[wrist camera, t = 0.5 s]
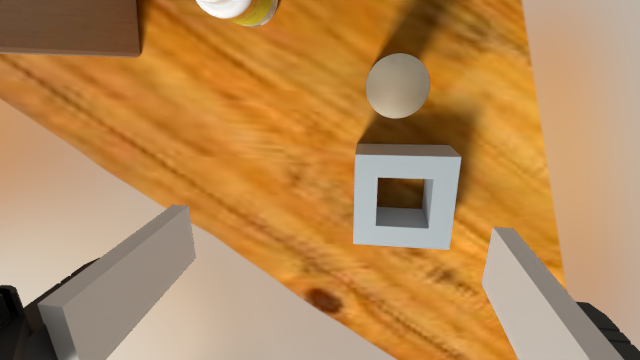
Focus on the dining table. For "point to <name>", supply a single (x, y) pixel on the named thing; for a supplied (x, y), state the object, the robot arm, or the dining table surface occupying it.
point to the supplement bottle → (241, 10)
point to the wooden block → (69, 27)
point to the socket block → (406, 223)
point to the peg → (397, 85)
